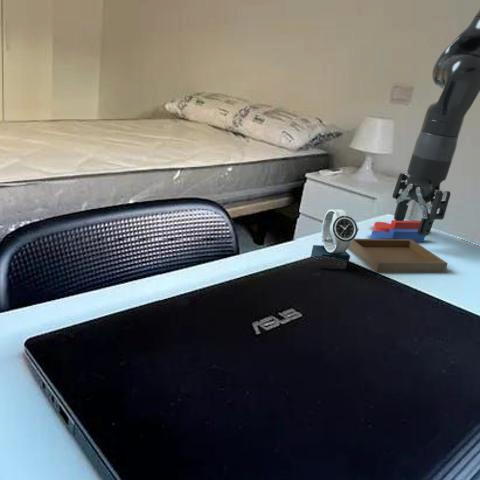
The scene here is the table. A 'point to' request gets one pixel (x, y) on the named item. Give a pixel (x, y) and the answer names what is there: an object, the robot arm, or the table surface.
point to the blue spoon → (398, 234)
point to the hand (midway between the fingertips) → (409, 227)
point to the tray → (396, 255)
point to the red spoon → (396, 225)
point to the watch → (336, 235)
